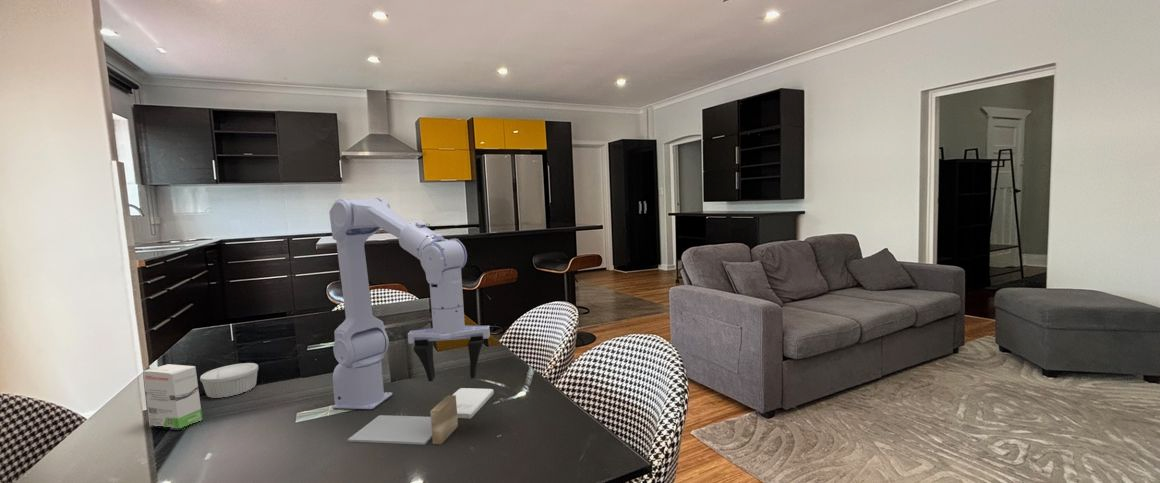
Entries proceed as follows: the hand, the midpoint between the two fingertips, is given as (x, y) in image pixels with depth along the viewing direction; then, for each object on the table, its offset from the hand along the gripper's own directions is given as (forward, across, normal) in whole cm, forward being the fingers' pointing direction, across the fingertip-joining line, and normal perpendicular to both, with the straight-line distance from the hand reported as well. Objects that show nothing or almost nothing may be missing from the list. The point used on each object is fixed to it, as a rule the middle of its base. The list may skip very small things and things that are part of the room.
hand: (452, 377), depth 91 cm
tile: (+10, -1, -2) cm, 10 cm away
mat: (+10, -10, +1) cm, 14 cm away
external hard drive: (+10, 0, +11) cm, 15 cm away
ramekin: (+10, -58, +29) cm, 66 cm away
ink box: (+10, -58, +11) cm, 60 cm away
